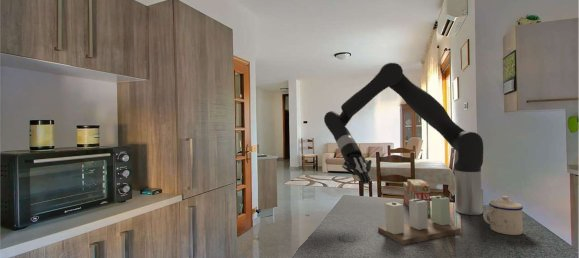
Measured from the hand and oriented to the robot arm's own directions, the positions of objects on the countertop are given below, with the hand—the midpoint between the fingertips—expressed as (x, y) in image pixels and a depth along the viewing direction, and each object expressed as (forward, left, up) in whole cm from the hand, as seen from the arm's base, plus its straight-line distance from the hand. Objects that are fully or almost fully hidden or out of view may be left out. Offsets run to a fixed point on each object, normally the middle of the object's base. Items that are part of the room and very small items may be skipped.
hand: (366, 182), depth 106 cm
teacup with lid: (-36, +25, -16) cm, 46 cm away
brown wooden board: (-10, +15, -15) cm, 24 cm away
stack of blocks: (-31, -8, -16) cm, 36 cm away
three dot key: (-10, +15, -14) cm, 22 cm away
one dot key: (0, +15, -14) cm, 20 cm away
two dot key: (-20, +15, -14) cm, 28 cm away
